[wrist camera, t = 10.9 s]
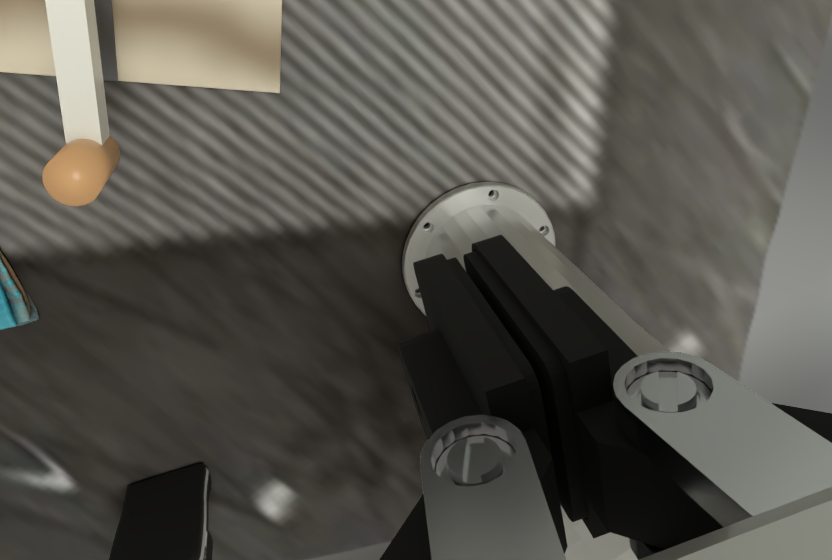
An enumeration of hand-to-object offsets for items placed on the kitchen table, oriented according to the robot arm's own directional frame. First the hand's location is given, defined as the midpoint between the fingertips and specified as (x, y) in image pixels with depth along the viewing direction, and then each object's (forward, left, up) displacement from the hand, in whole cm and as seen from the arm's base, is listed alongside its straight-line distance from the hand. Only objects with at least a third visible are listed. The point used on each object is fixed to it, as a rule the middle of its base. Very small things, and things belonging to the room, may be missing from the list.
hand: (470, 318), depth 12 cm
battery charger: (-36, +10, -35) cm, 51 cm away
